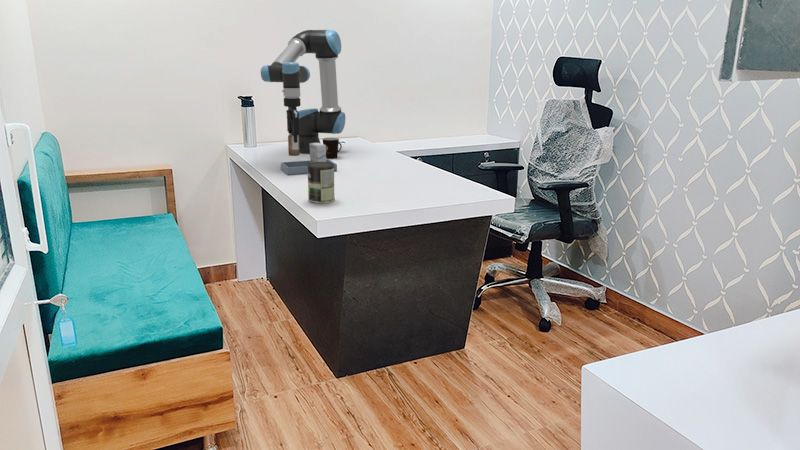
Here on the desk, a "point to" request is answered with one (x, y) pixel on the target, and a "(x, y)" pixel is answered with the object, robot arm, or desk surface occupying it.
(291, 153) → the walnut dowel
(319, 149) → the ink box
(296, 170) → the tray
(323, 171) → the coffee can
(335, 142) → the coffee mug
